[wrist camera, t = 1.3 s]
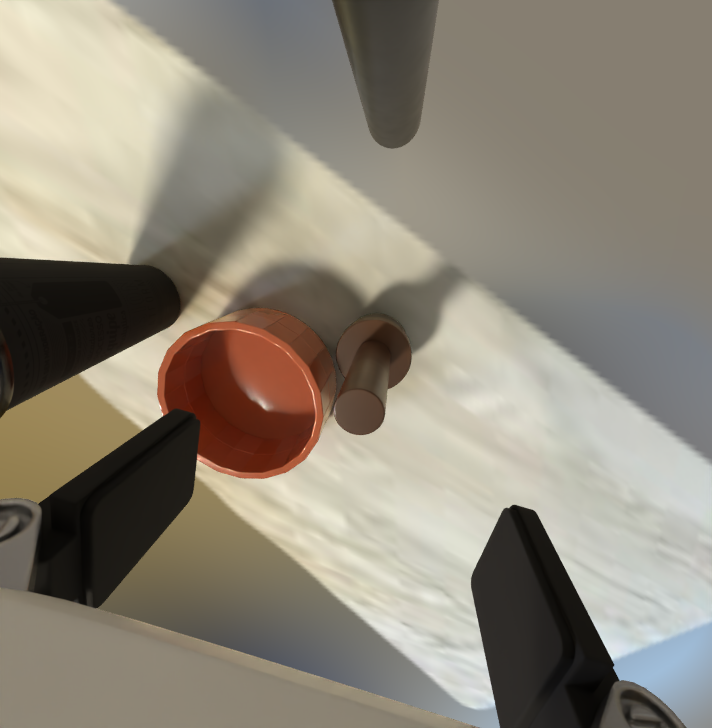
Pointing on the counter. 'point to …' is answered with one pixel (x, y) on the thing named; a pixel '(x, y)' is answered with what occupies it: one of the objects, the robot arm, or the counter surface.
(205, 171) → the counter surface
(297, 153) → the counter surface
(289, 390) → the bowl
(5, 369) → the drinking cup
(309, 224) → the counter surface
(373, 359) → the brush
